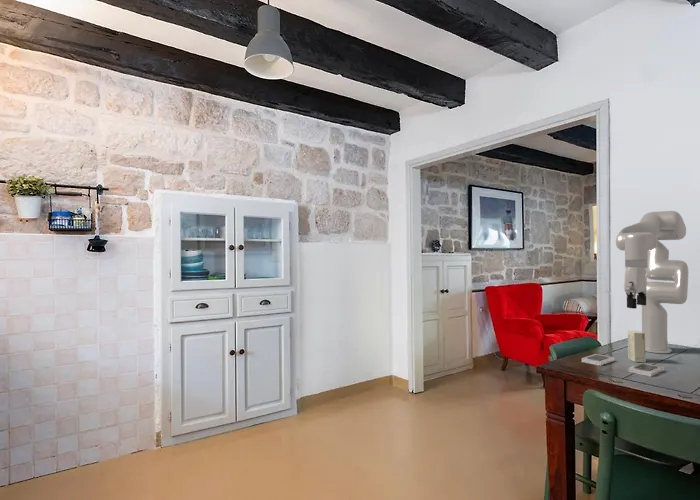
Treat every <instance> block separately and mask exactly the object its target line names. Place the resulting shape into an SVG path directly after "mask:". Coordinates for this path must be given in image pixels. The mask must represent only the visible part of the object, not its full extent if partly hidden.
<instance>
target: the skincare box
mask: <svg viewBox="0 0 700 500" xmlns="http://www.w3.org/2000/svg"><path fill="white" fill-rule="evenodd" d="M627 358H628V360H630V361H632V362H634V363H647V361H646V360H647V359H646V351H645V333H643V332H642V331H640V330H633V329H632V330H631V329H630V330H627Z"/></svg>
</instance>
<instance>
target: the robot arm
mask: <svg viewBox="0 0 700 500" xmlns="http://www.w3.org/2000/svg"><path fill="white" fill-rule="evenodd" d="M686 234H687V227H686V224H685V222H684V219H683V217H682V215H681V214H680V213H679V212H678V211H676V210H664V211H649V212H647V213H645V214H644V215H643V216H642V217H641V219H640V220H639V221H638V222H637V223H634V224H632V225H628V226H625V227H623V228H622V229H620V231H619V232H618V233H617V236H616V238H615V245H616V247H617V249H618V250H621V251H624V268H625V272H624V285H623V288H624V289H623V290H624V292H625V294H626V308H629V309H633V310H634V309H637V306H641V332H643V333H645V353H646V352H647V353H655V354H671V353H672V351H673V350H672V348H669V347H668V343H669V342H668V313H667V310H666V309H665V308H664V306H663V304H671V305H673V304H674V305H683V304H685V303H686V301H687V299H688V294H689V291H688V290H689V289H688V288H689V267H688V264H687V263H686V262H685V261H683V260H679V259H677V260H676V259H669V257H670V251H669V249H668V248H667V247H666V246H665V244H663V243H662V242H661V241H679V240H683V239H684V238H685V237H686ZM648 280H652V281H648ZM653 280H654V281H653ZM664 281H665V282H664ZM667 281H668V282H667Z"/></svg>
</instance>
